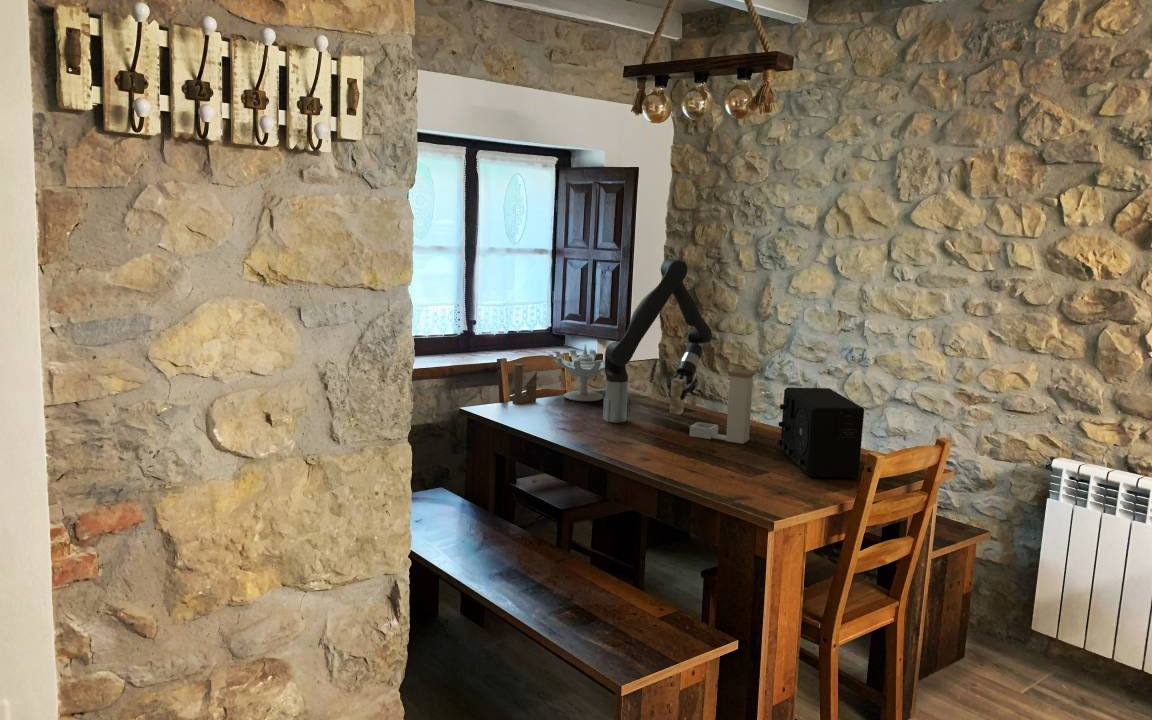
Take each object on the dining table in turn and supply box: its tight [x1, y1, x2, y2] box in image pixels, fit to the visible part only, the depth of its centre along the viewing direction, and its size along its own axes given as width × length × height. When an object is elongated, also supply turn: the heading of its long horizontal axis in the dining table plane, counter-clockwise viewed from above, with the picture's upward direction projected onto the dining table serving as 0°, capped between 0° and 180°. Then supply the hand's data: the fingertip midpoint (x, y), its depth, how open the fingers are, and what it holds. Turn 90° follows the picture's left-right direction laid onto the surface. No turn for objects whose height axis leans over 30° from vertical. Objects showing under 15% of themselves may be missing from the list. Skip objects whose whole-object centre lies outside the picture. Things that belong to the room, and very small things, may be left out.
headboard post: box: [689, 368, 756, 445], centre depth 351 cm, size 22×9×28 cm, turn 62°
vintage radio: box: [776, 387, 865, 479], centre depth 317 cm, size 38×20×25 cm, turn 3°
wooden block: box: [512, 363, 538, 405], centre depth 404 cm, size 4×11×18 cm, turn 126°
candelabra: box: [547, 341, 605, 402], centre depth 417 cm, size 34×35×27 cm
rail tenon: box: [668, 378, 685, 415], centre depth 368 cm, size 4×4×14 cm
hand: (675, 398), depth 366 cm, fingers closed on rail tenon, 4 cm apart
